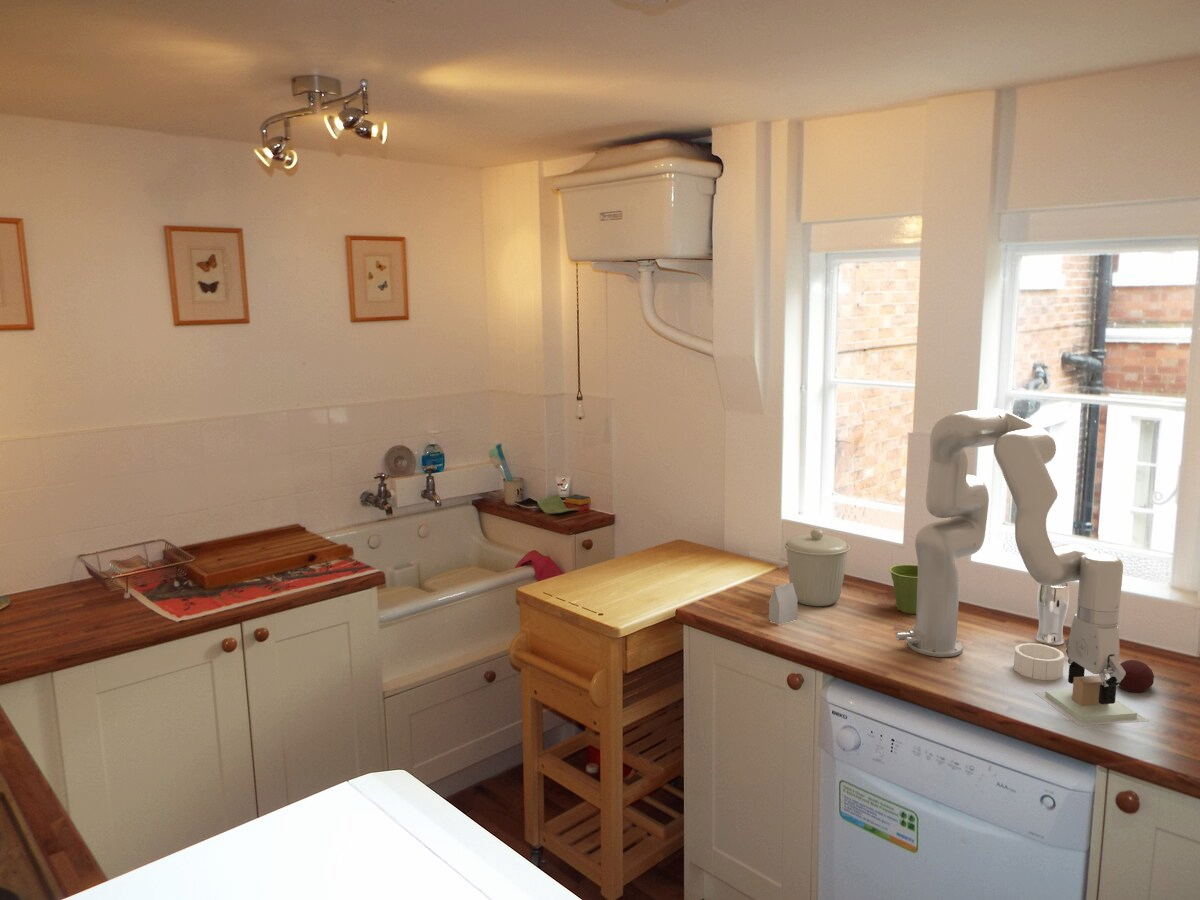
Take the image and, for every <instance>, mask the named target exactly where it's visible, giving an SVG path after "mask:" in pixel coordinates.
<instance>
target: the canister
mask: <svg viewBox="0 0 1200 900" xmlns="http://www.w3.org/2000/svg"><path fill="white" fill-rule="evenodd" d="M783 546H784V548H785V550H786V559H787V560H786V561H787V570H788V579H789V583H793V586H794V590H795V593H796V596H797V603H800V604H802V605H805V606H810V607H827V606H832V605H834V604H835V603H837V602H838V601H839V599H840V597H841V594H842V589H843V583H844V579H845V571H846V570H845V569H846V564H847V557H848V553H849V551H850V550H851V546H850V544H849V543H847V542H846V541H845V540H843V539H841V538H839V537H836V536H832V535H827V534H824V531H823V529H821V528H813V529H811V531H810V533H806V534H799V535H794V536H792V537H790V538H788V539H786V540H785V541H784V543H783Z"/></svg>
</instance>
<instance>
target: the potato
mask: <svg viewBox="0 0 1200 900" xmlns="http://www.w3.org/2000/svg"><path fill="white" fill-rule="evenodd" d="M1120 665H1121V666H1122V668H1123V669H1124V670H1125V672H1126V675H1125V676H1124V678H1123V679H1122V682H1121V683H1120V684H1119V686H1118V687H1120V688H1122V689H1123V690H1125V691H1128V692H1132V693H1142V692H1146V691H1147V690H1149V689H1150V688H1151V687H1152V686H1153V685H1154V681H1155V680H1154V679H1155V675H1154V672H1153V669H1152V668H1150V666H1148V664H1146V663H1145V662H1143V661H1140V660H1136V659H1129V660H1124V661H1122V662H1121V663H1120Z"/></svg>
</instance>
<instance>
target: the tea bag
mask: <svg viewBox="0 0 1200 900" xmlns="http://www.w3.org/2000/svg"><path fill="white" fill-rule="evenodd" d="M768 603H769V604H768V621H769V620H770V621H772V622H775V623H777V624H782V623H786V622H790V621H793V620H798V601H797V596H796V593H795V590H794V586H793V583H790V582H789V583H785V584H781V585H778V586H774V587H773V590H772V594H771V596H770V597H769V600H768ZM793 622H794V621H793ZM790 623H791V622H790Z"/></svg>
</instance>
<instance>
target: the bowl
mask: <svg viewBox="0 0 1200 900" xmlns="http://www.w3.org/2000/svg"><path fill="white" fill-rule="evenodd" d="M1013 656H1014V659H1013V670H1014V671H1016V672H1017V673H1019V674H1020V675H1021V676H1024V677H1028V678H1030V679H1034V680H1035V679H1036V680H1041V681H1054V680H1055V681H1056V680H1059V679H1060V678H1062V677H1063V676H1064V664H1065V654H1064V652H1063V651H1062V650H1059V649H1058V648H1056V647H1052V646H1051V645H1048V644H1043V643H1042V644H1041V643H1032V642H1027V643H1020V644H1018V645H1015V647H1014V655H1013Z"/></svg>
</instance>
